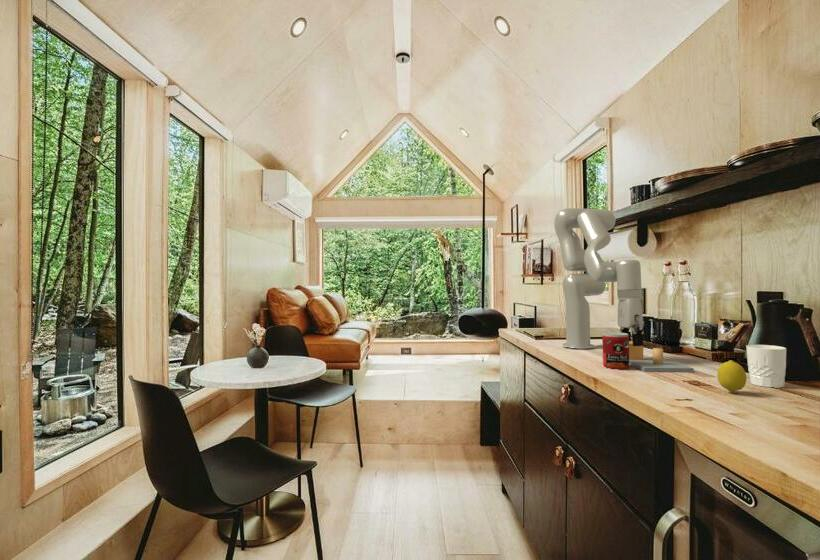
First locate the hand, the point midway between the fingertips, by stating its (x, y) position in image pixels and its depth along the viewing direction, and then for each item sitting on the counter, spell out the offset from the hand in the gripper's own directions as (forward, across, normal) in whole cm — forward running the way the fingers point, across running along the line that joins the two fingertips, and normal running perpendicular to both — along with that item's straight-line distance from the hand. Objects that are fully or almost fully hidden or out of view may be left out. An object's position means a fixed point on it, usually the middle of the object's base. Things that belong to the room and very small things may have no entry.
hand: (631, 344), depth 138 cm
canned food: (+6, +10, -9) cm, 15 cm away
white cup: (+7, +31, +21) cm, 38 cm away
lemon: (+8, +40, +7) cm, 41 cm away
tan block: (+6, -1, 0) cm, 6 cm away
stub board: (+6, +10, +4) cm, 12 cm away
